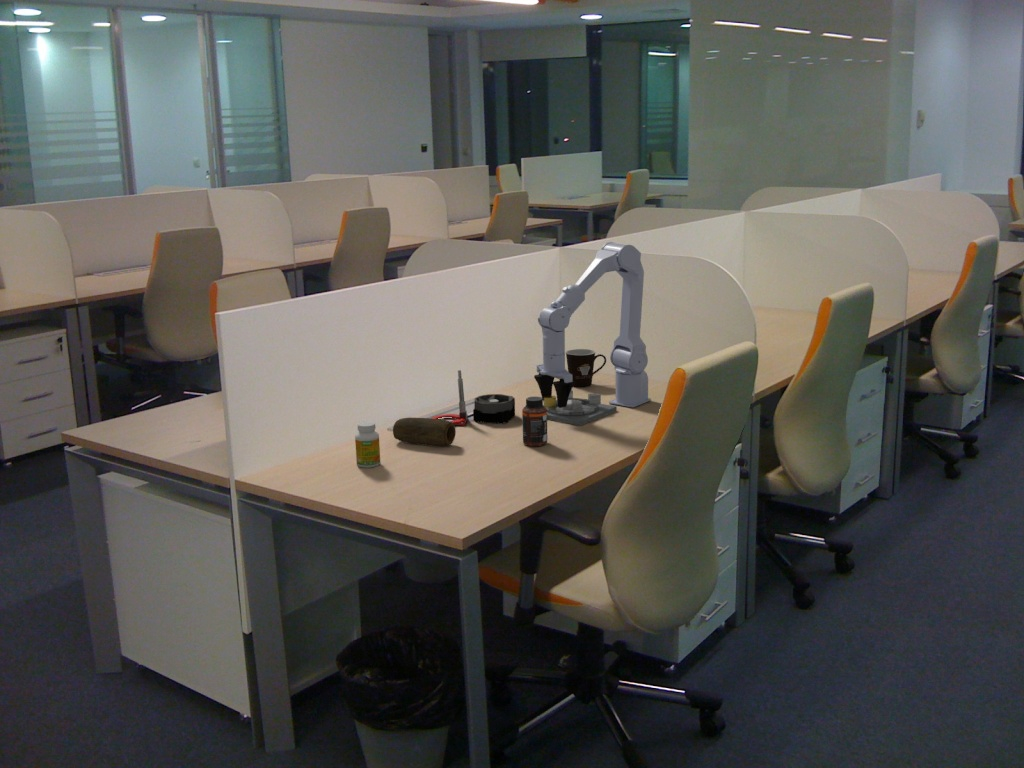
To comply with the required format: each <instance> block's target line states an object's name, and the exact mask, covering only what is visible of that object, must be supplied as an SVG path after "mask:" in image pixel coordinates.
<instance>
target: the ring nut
mask: <svg viewBox="0 0 1024 768" xmlns="http://www.w3.org/2000/svg"><path fill="white" fill-rule="evenodd" d="M568 400H571V405H572V410H562V409H558V408H554V407H556V405H558V403H557V396H555V395H552V396H544V401H543V405H544V406H545V407H546V409H547V410H548V412H551V413H554V414H558V415H568V416H573V415H585V414H590V413H594V412H595V411H597V410H598V404H602V402H601V401H602V398H601V394H600V393H599V392H598V393H596V392H595V393H588V394H587V398H578V397H577V398H576V397H574V392H573V389H572V390H571V392H570V394H569V398H568ZM580 401H581V402H582V404H586V405H589V406H591V407H590V408H586V409H582V410H581V402H580Z"/></svg>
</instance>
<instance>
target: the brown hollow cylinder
mask: <svg viewBox="0 0 1024 768" xmlns="http://www.w3.org/2000/svg"><path fill="white" fill-rule="evenodd" d="M431 418H432V417H431ZM431 418H429V417H428V418H427V417H412V416H411V417H410V416H409V417H404V418H399V419H398V420H395V423H394V424H393V428H392V434H393V438H394V439H395V440H398V441H400V442H403V443H408V444H413V445H421V446H422V445H423V446H430V447H448V446H451V445H452V444H453V443H454V440H455V437H456V433H457V432H456V430H457V429H456V425H454V424H453V423H452V422H450V420H447V419H431Z"/></svg>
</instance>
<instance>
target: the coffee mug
mask: <svg viewBox="0 0 1024 768" xmlns="http://www.w3.org/2000/svg"><path fill="white" fill-rule="evenodd" d="M598 357H602V358H603V360H604V361H603V363H602V365H601V366H599V367H598V368H597V369H596V370H594V367H595V366H594V365H595V361H596V359H597V358H598ZM565 358H566V365H567V371H568V372H569V373H570V374H572V380H573V381H575V384H574V386H573V388H578V389H581V388H583V389H584V388H589V387H591V386H592V383H593V376H594V375H595V374H597V373H598V372H599V371H601V370H602V369H603V368H604V366H605V365H606V363H607V356H606V355H603V354H602V353H600V354H599V353H597V354H596V351H595V350H594V349H589V348H576V349H575V348H574V349H569V350H565Z"/></svg>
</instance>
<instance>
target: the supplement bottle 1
mask: <svg viewBox="0 0 1024 768" xmlns="http://www.w3.org/2000/svg"><path fill="white" fill-rule="evenodd" d="M357 431H358V432H356V434H355V435H354V439H355V440H354V441H355V455H356V456H355V457H356V465H357V466H358V467H360V468H364V469H371V468H376V467H378V466H379V465H380V464H381V449H380V447H381V446H380V434H379V433H378V431H376V423H375V422H373V421H367V420H366V421H361V422H359V423H357Z"/></svg>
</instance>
